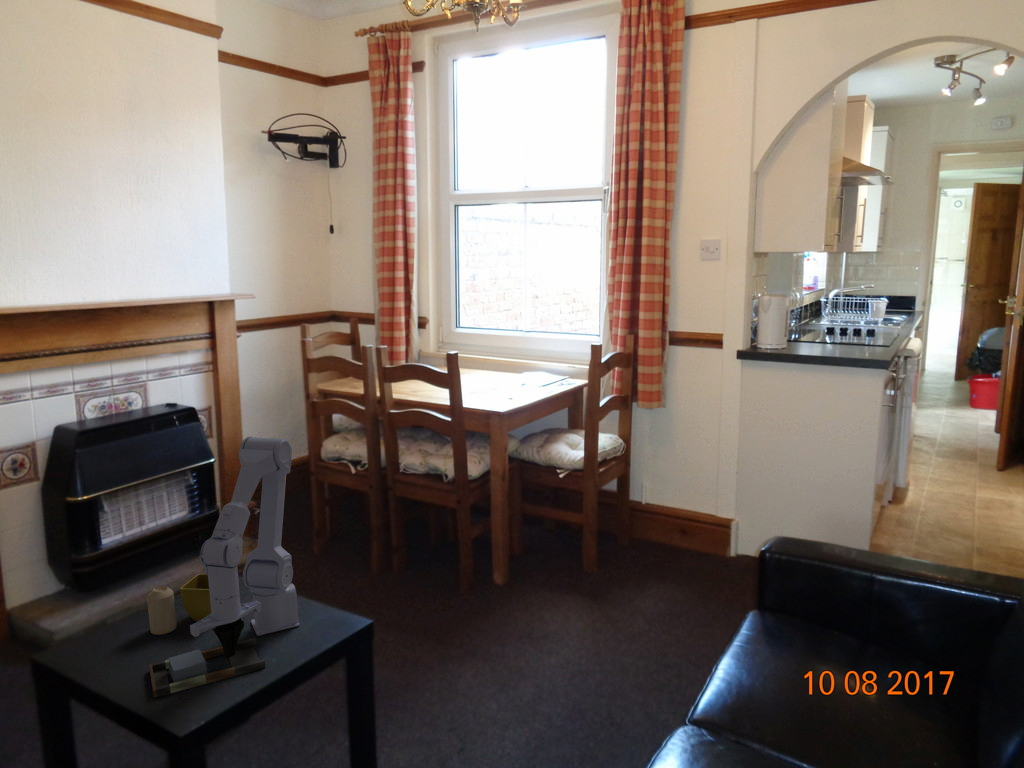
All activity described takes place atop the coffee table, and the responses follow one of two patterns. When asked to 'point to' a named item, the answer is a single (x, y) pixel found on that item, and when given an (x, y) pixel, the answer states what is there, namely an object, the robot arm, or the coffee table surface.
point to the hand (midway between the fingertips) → (229, 654)
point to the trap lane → (240, 663)
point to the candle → (161, 610)
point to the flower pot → (197, 597)
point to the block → (187, 666)
